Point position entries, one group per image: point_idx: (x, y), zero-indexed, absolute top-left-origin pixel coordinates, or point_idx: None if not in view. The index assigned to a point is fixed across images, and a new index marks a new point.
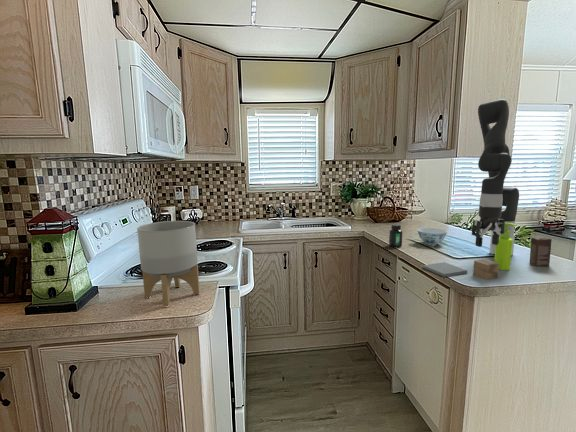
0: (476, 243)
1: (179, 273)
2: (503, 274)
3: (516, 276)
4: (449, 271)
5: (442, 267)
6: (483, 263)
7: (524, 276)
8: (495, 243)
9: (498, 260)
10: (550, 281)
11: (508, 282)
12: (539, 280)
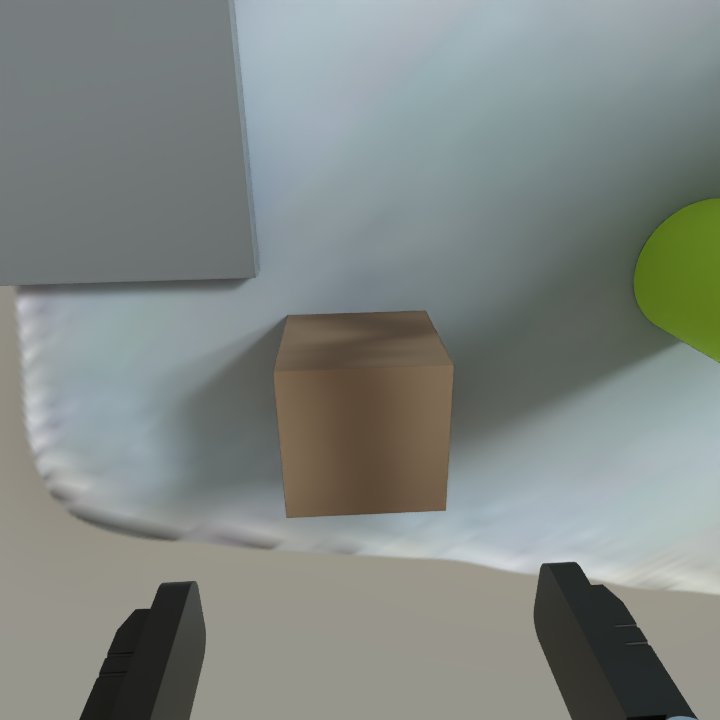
0: (118, 652)
1: None
2: (533, 396)
3: (576, 456)
4: (46, 242)
5: (46, 92)
6: (288, 474)
7: (628, 473)
8: (542, 623)
9: (687, 307)
10: (667, 577)
11: (396, 520)
12: (628, 549)
